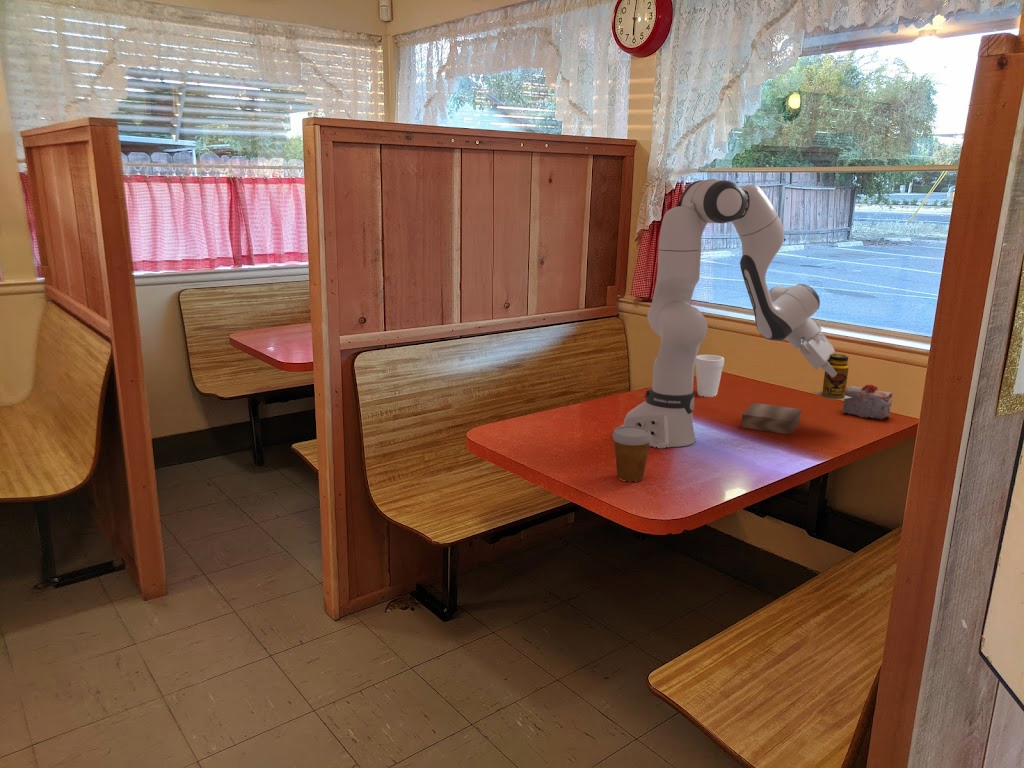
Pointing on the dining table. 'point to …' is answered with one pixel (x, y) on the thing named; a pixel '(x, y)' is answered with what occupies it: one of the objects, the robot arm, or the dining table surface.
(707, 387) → the foam cup
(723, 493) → the dining table surface
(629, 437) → the disposable coffee cup
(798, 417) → the base
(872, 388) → the food item
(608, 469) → the dining table surface
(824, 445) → the dining table surface
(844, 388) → the condiment
